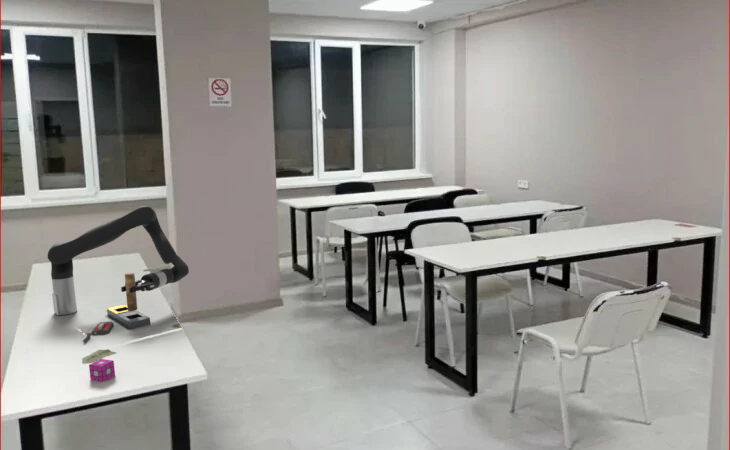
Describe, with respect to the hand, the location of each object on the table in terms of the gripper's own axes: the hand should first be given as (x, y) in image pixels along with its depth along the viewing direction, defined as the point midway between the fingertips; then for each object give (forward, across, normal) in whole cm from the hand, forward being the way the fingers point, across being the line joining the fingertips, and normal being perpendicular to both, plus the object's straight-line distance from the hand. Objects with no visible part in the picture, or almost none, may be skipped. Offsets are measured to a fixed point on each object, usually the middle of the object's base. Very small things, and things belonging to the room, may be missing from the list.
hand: (126, 290), depth 265 cm
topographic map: (+32, +16, +17) cm, 40 cm away
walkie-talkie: (+12, -5, +18) cm, 22 cm away
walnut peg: (-3, 0, +10) cm, 10 cm away
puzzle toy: (+45, +32, +17) cm, 58 cm away
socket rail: (-6, -6, +17) cm, 19 cm away
